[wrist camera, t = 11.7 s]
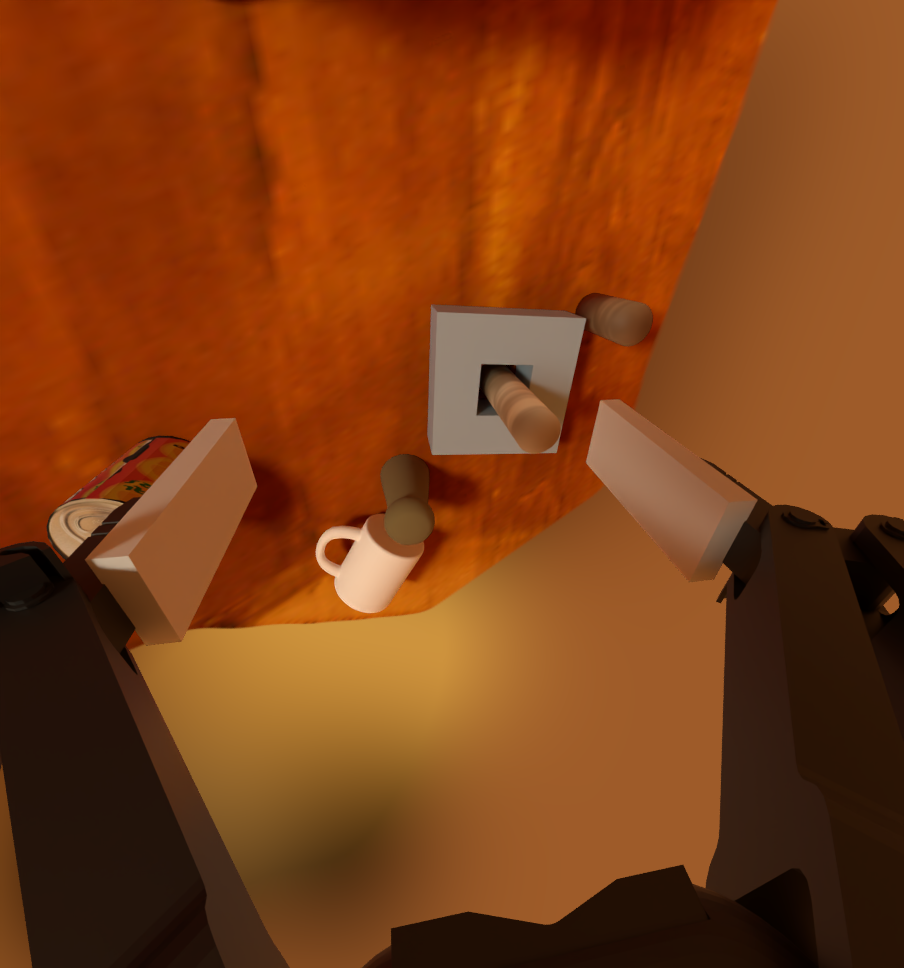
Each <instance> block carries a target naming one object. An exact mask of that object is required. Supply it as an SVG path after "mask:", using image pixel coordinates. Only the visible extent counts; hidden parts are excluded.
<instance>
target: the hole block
mask: <svg viewBox="0 0 904 968" xmlns="http://www.w3.org/2000/svg"><path fill="white" fill-rule="evenodd" d="M585 322H586V318H584V317H581V316H578V315H575V314H573V313H570V312H567V311H559V310H537V309H515V308H493V307H472V306H450V305H431V332H430V368H429V403H428V439H429V444H430V448H431V452H432V455H452V454H515V453H528V452H525V451H524V450H522V449H521V448H520V447H519V445H518V444H517V442H516V441H515V439H514V438H513V436H512V435H511V433H510V432H509V430H508V429H507V427H506V426H505V424H504V423H503V421H502V420H501V418H500V417H499V415H498V414H497V412H496V411H495V409H494V408H493V406H492V405H491V403H490V402H489V400H488V399H478V393H479V383H480V372H481V364H501V365H517V366H516V373H515V376H516V377H517V378H518V379H519V380H520V381H521V382H522V383H523V384H524V385H525V386H526V387H527V388H528V389H529V390H530V391H531V392H532V393H533V394H534V395H535V396H536V397H537V398H538V399H539V400H540V401H541V402H542V403H543V404H544V405H545V406H546V407H547V408H548V409H549V410H550V411H551V412H552V413H553V414H554V415H555V416H556V417H557V418H558V420H559V422H560V425H561V430H562V426H563V421H564V417H565V412H566V408H567V403H568V399H569V394H570V390H571V385H572V381H573V376H574V372H575V367H576V363H577V358H578V354H579V349H580V345H581V340H582V336H583V331H584V327H585ZM560 435H561V432H560ZM559 439H560V436H559V438H558V440H557V441H556V443H555V444H554V445H553V446H552V447H551V448H550V449H548V450H546V451H544V452H541V453H557V448H558V444H559Z"/></svg>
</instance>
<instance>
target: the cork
mask: <svg viewBox="0 0 904 968" xmlns="http://www.w3.org/2000/svg"><path fill="white" fill-rule="evenodd" d="M380 475H381V482H382V486H383V490H384V494H385V498H386V502H387V506H388V508H387V510H386V513H385V516H384V526H385V530H386V532H387V534H388V536H389V537H390V538H391V539H393V540H394V541H395V542H397V543H399V544H402V545H415V544H418V543H421V542H422V541H424V540H425V539H427V538H428V536H429V535H430V534H431V533H432V530H433V528H434V524H435V519H434V513H433V511H432V509H431V507H430V506H429V505H428V494H429V469H428V467H427V465H426V464H425V462H424V461H423V460H422V459H420V458H418V457H417V456H414V455H409V454H403V455H398V456H395V457H392V458H391V459H390V460H388V461H387V462H386V463H385V464H384V466H383V467H382V470H381V474H380Z"/></svg>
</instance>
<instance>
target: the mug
mask: <svg viewBox="0 0 904 968" xmlns="http://www.w3.org/2000/svg"><path fill="white" fill-rule="evenodd" d="M384 516H385V514H375V515H372V516H370V517H369V518H368V519H367V520H366V522H365V524H364V526H363V527H362V528H357V527H352V526H335V527H332V528H330V529H328V530H327V531H325V532H324V533H323V534H322V536H321V537H320V539H319V541H318V543H317V547H316V558H317V561H318V563H319V565H320V566H321V567H322V569H323V570H325V571H326V572H327V573H329V574H331V575H333V576H335V582H334V583H335V589H336V592H337V594H338V595H339V597H340V598H341V599H342V601H343V602H344V603H346V604H347V605H348V606H350V607H351V608H353V609H355V610H357V611H360V612H365V613H376V612H379V611H382V610H384V609H385V608H386V607H387V606H388V605H389V604H390V602H391V601H392V599H393V597H394V596H395V594H396V593H397V591H398V590H399V588H400V587H401V585H402V584H403V582H404V581H405V579H406V578H407V576H408V575H409V573H410V572H411V570H412V569H413V567H414V566H415V564H416V563H417V561H418V560H419V558H420V557H421V555H422V554H423V552H424V542H423V541H422V542H421V543H418V544H415V545H402V544H399V543H397V542H395V541H394V540H393V539H391V538H390V537H389V536H388V534H387V532H386V530H385V526H384ZM336 538H346V539H352V540H355V542H354V544H353V545H352V547H351V549H350V551H349V553H348V554H347V556H346V558H345V560H344V562H343V563H342V565H338V564H335V563H333V562H331V561H329V560H328V559H327V558H326V556H325V554H324V550H325V547H326V544H327V543H328V542H329V541H330V540H332V539H336Z"/></svg>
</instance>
